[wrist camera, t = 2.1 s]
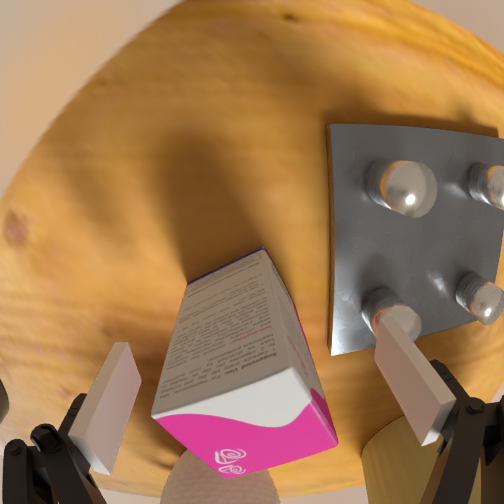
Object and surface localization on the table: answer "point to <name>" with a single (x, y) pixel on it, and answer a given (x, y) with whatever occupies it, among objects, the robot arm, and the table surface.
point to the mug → (215, 485)
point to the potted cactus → (402, 466)
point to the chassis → (412, 230)
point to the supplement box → (242, 373)
